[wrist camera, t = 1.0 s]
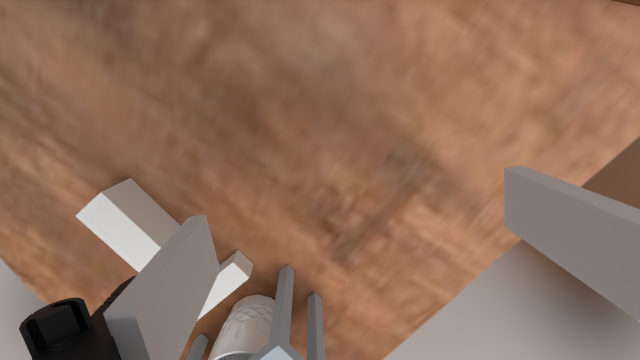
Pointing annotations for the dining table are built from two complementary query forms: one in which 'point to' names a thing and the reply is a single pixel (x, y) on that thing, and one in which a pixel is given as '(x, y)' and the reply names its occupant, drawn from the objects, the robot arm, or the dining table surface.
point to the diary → (630, 2)
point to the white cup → (245, 329)
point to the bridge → (283, 327)
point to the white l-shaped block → (150, 234)
